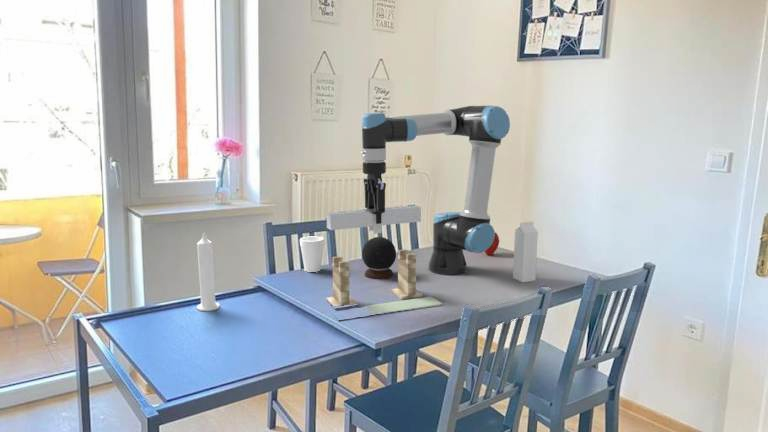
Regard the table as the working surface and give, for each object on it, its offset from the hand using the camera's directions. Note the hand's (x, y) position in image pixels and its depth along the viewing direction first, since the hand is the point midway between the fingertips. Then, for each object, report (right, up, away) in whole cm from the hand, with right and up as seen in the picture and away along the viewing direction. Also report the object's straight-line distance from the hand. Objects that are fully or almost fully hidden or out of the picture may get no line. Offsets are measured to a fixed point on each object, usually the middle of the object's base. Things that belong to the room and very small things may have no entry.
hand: (375, 231), depth 190 cm
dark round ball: (+1, -18, +31) cm, 36 cm away
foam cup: (-25, -17, +37) cm, 48 cm away
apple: (+49, -12, +61) cm, 79 cm away
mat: (+4, -25, -6) cm, 26 cm away
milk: (+56, -19, +26) cm, 64 cm away
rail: (0, +2, 0) cm, 2 cm away
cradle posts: (0, -23, +4) cm, 23 cm away
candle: (-54, -25, -4) cm, 60 cm away
